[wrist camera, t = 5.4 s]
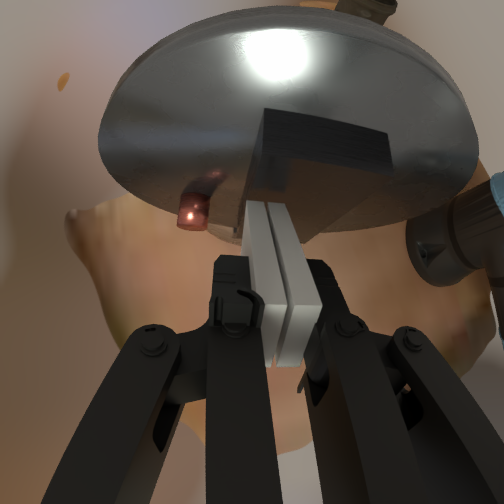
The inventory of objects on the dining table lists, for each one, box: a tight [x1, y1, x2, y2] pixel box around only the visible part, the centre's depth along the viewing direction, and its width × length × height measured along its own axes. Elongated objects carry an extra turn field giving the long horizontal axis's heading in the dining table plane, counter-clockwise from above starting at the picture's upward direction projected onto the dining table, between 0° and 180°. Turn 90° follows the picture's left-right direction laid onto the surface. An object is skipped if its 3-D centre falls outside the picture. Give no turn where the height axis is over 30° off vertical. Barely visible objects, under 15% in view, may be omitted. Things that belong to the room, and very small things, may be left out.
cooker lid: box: [98, 6, 479, 244], centre depth 16 cm, size 21×21×4 cm
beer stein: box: [334, 0, 397, 26], centre depth 39 cm, size 15×11×20 cm
